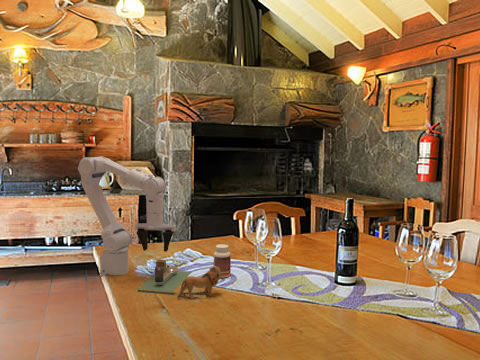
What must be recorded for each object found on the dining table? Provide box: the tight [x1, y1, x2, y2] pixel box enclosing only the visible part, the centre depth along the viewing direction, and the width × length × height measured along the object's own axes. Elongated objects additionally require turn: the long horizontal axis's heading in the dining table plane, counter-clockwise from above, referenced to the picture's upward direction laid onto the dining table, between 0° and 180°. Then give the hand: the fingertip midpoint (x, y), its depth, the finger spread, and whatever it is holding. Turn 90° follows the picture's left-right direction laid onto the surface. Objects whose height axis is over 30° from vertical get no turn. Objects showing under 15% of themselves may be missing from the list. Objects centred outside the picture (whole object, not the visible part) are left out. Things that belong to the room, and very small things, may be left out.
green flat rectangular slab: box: [137, 270, 192, 296], centre depth 152 cm, size 12×21×1 cm, turn 169°
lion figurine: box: [176, 265, 221, 300], centre depth 139 cm, size 15×5×9 cm, turn 117°
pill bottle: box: [213, 244, 232, 279], centre depth 159 cm, size 6×6×11 cm
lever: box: [154, 265, 179, 285], centre depth 153 cm, size 4×18×6 cm, turn 170°
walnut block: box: [155, 259, 167, 273], centre depth 161 cm, size 3×3×4 cm
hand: (155, 250), depth 154 cm, fingers open, 7 cm apart
